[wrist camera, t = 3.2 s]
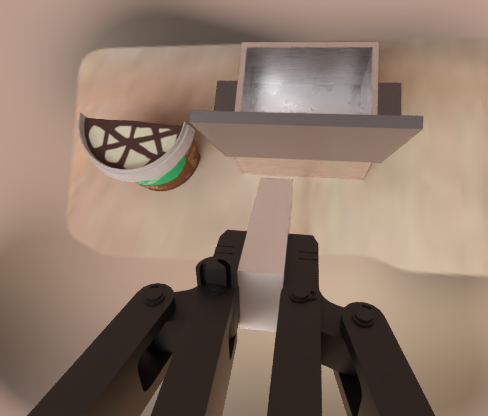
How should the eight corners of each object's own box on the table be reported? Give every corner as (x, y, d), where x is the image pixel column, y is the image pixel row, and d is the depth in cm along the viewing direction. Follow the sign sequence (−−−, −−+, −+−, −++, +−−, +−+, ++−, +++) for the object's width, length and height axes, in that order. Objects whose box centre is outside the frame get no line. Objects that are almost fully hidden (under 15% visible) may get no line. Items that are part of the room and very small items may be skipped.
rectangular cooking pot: (386, 84, 47) (403, 41, 39) (384, 180, 44) (403, 155, 36) (231, 82, 49) (219, 42, 42) (222, 172, 47) (207, 147, 39)
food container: (107, 194, 48) (60, 169, 39) (118, 148, 49) (74, 112, 40) (203, 206, 46) (178, 182, 37) (212, 157, 47) (190, 121, 38)
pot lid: (423, 116, 24) (422, 129, 24) (381, 154, 36) (380, 162, 36) (190, 110, 26) (189, 122, 26) (226, 148, 38) (225, 156, 38)
